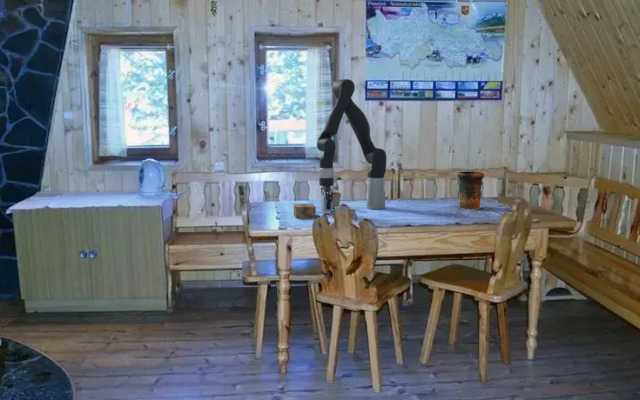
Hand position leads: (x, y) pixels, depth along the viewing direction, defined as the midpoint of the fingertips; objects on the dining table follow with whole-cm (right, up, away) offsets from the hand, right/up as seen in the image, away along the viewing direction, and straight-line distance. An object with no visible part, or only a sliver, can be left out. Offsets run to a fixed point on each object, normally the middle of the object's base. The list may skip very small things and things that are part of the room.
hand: (326, 208), depth 338 cm
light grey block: (0, -1, 0) cm, 1 cm away
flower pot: (+4, -1, +15) cm, 15 cm away
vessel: (+79, 0, +16) cm, 81 cm away
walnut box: (-12, -4, -7) cm, 14 cm away
